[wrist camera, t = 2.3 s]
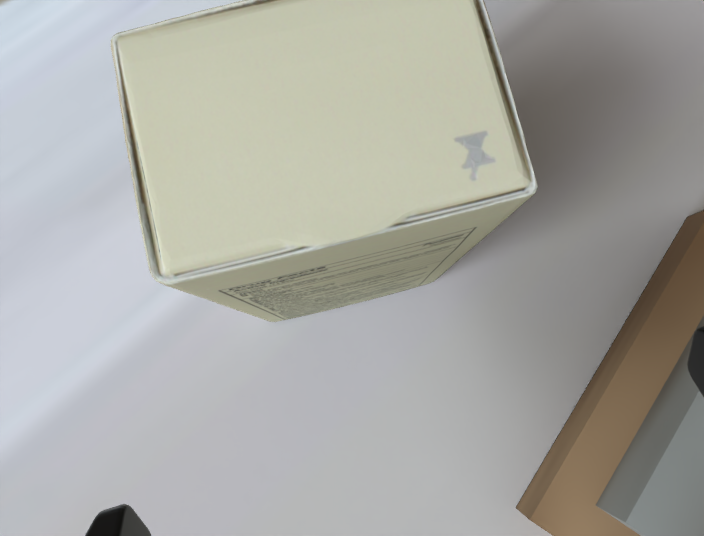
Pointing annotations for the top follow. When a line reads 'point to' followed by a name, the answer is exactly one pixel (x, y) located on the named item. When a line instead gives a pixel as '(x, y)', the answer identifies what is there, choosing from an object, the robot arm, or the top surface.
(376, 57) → the skincare box
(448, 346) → the top surface
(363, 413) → the top surface
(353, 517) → the top surface
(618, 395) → the brown picture frame
